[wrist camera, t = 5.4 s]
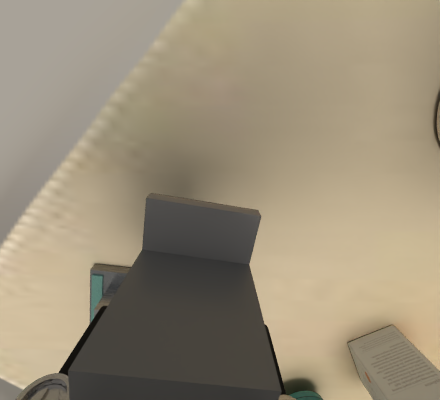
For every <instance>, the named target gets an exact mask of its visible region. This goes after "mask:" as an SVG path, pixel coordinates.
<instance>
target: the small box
mask: <svg viewBox="0 0 440 400" xmlns="http://www.w3.org/2000/svg"><path fill="white" fill-rule="evenodd" d="M348 346H349V348H350V351H351V354H352V357H353V360H354V362H355V365H356V368H357V371H358V373H359V376H360V379H361V381H362V383H363V385H364V386H365V388H366V389H367V391H368V392H369V394H370V395H371V397H372V398H373V400H440V371H439V370H438V369H437V368H436V367H435V366H434V365H433V364H432V363H431V362H430V361H429V360H428V359H427V358H426V357H425V356H424V355H423V354H422V353H421V352H420V351H419V350H418V349H417V348H416V347H415V346H414V345H413V344H412V343H411V342H410V341H409V340H408V339H407V338H406V337H405V336H404V335H403V334H402V333H401V332H400V331H399V330H398V329H397V328H396V327H395V326H393V325H390V326H388V327H386V328H383V329H381V330H378V331H376V332H373V333H371V334H368V335H366V336H363V337H361V338H358V339H356V340H353V341H351V342H349V343H348Z"/></svg>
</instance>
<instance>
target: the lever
mask: <svg viewBox="0 0 440 400" xmlns="http://www.w3.org/2000/svg"><path fill="white" fill-rule="evenodd" d="M260 219H261V215H260V213H259V211H258V210H254V209H248V208H241V207H235V206H229V205H223V204H217V203H210V202H204V201H198V200H192V199H185V198H179V197H173V196H167V195H160V194H154V193H151V194H150V195H149V196H148V197H147V198H146V209H145V221H144V234H143V247H142V251H141V252H140V254H139V256H138V257H137V259H136V261H135V262H134V264H133V266H132V267H131V269H130V270H129V272H128V274H127V275H126V277H125V279H124V280H123V282H122V283H121V285H120V287H119V288H118V290H117V292H116V293H115V295H114V296H113V298H112V300H111V301H110V303H109V305H108V306H107V308H106V309H105V311H104V313H103V314H102V316H101V318H100V319H99V321H98V323H97V324H96V326H95V327H94V329H93V331H92V332H91V334H90V336H89V337H88V339H87V340H86V342H85V344H84V345H83V347H82V349H81V350H80V352H79V353H78V355H77V357H76V358H75V360H74V362H73V363H72V365H71V367H70V368H69V370H68V380H69V400H279V397H280V394H281V392H282V391H281V387H280V383H279V379H278V375H277V371H276V367H275V363H274V360H273V356H272V352H271V348H270V344H269V340H268V336H267V332H266V328H265V324H264V321H263V317H262V313H261V309H260V305H259V301H258V297H257V293H256V289H255V285H254V282H253V278H252V274H251V270H250V266H249V263H250V259H251V255H252V251H253V247H254V243H255V239H256V235H257V231H258V227H259V223H260Z"/></svg>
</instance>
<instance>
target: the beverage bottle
mask: <svg viewBox="0 0 440 400" xmlns="http://www.w3.org/2000/svg"><path fill="white" fill-rule="evenodd" d="M289 396H291V397H293V398H295V399H297V400H323V399H322V398H321V396H320V395H319V394H317V393H315V392H313V391H299V392H295V393H292V394H290V395H289Z"/></svg>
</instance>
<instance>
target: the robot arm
mask: <svg viewBox="0 0 440 400" xmlns="http://www.w3.org/2000/svg"><path fill="white" fill-rule="evenodd" d="M437 133H438V138H439V141H440V102H439V106H438V111H437ZM106 308H107V306H102V307H101V308H100V309H99V311H98V312H97V314H96V315H95V317H94V319H93V320H92V322H91V323H90V325H89V326H88V328H87V329H86V331H85V333H84V334H83V336H82V337H81V339H80V340H79V342H78V343H77V345H76V346H75V348H74V350H73V351H72V353H71V354H70V356H69V357H68V359H67V360H66V362H65V363H64V365H63V367H62V368H61V370H60V371H59V373H54V374H50V375H46V376H44V377H42V378H39V379H37V380H36V381H34V382H33V383H31V384H30V385H28V386H27V387H26V388H25V389H24V390H23V391H22V392H21V393H20V394H19V395H18V397H17V398H16V400H69V380H68V370H69V368H70V367H71V365H72V363H73V362H74V360H75V358H76V357H77V355H78V353H79V352H80V350H81V349H82V347H83V345H84V344H85V342H86V340H87V339H88V337H89V336H90V334H91V332H92V331H93V329H94V327H95V326H96V324H97V323H98V321H99V319H100V318H101V316H102V314H103V313H104V311H105V309H106ZM265 328H266V332H267V336H268V340H269V344H270V348H271V352H272V356H273V360H274V363H275V367H276V371H277V375H278V379H279V383H280V387H281V391H282V392H281V394H280V397H279V400H297V399H295V398H293V397H291V396H289V395H286V392H285V389H284V385H283V381H282V377H281V374H280V370H279V366H278V363H277V359H276V355H275V352H274V348H273V344H272V341H271V337H270V333H269V330H268V327H267V326H266V325H265Z"/></svg>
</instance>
